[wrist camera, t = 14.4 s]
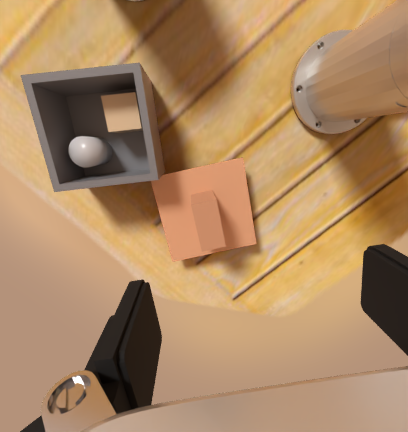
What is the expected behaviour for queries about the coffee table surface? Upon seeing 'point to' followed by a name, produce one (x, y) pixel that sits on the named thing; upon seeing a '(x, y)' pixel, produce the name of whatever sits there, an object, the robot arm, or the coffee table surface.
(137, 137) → the storage box
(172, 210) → the lid
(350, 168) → the coffee table surface
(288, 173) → the coffee table surface
